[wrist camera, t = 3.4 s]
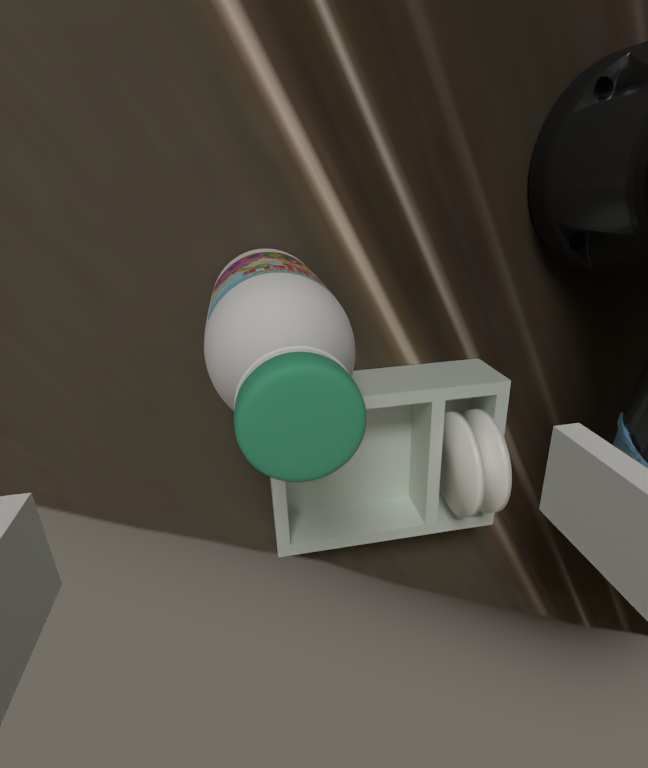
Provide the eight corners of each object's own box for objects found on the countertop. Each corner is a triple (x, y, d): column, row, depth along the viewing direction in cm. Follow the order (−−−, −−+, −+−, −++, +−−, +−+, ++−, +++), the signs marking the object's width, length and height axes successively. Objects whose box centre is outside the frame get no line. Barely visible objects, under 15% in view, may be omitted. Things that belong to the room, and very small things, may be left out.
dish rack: (260, 380, 36) (267, 435, 28) (478, 358, 39) (544, 403, 30) (273, 516, 41) (283, 597, 33) (466, 489, 44) (519, 558, 35)
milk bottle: (313, 355, 36) (394, 521, 18) (211, 350, 35) (184, 526, 16) (324, 252, 33) (432, 324, 15) (213, 241, 32) (184, 308, 14)
